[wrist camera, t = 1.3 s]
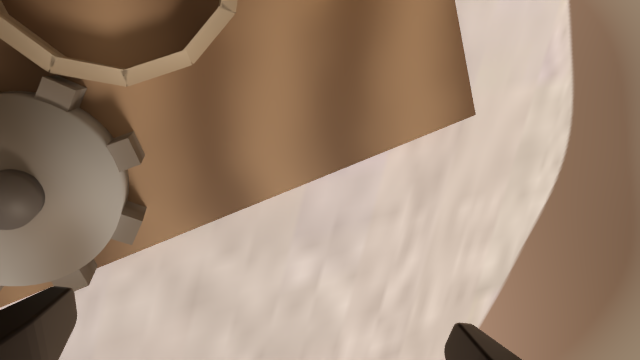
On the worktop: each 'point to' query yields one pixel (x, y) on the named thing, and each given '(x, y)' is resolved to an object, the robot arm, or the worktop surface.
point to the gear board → (197, 114)
